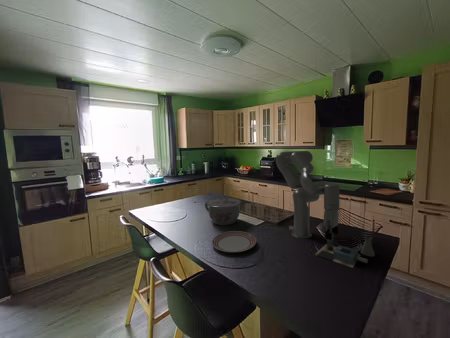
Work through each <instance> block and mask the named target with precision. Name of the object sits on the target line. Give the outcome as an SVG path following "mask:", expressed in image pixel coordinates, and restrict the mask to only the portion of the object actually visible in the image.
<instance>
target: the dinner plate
mask: <svg viewBox="0 0 450 338" xmlns="http://www.w3.org/2000/svg"><path fill="white" fill-rule="evenodd" d="M256 244H257V238H256V237H255V235H253V234H251V233H249V232H245V231H242V230H241V231H239V230H231V231H230V230H229V231H225V232H222V233H220V234H217V235H215V236H214V237H213V238H212V240H211V245H212V247H213V248H214V249H215V250H218V251H221V252H225V253H242V252H246V251H249V250H250V249H252V248H253V247H255V245H256Z"/></svg>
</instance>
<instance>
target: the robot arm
mask: <svg viewBox="0 0 450 338" xmlns="http://www.w3.org/2000/svg"><path fill="white" fill-rule="evenodd" d="M312 161H313V154H312V153H311V152H310V151H309V150H297V151H291V150H290V151H282V152H278V153H277V154H276V156H275V164H276V167H277V169H278V170H279V172H280V173H281V174H282V176H283V177H284V179H285V181H286V183H287V185H288V187H289V188H290V189H291V190H294V191H293V192H292V200H293V226H292V225H289V226H288V230H289V231H291V236H292V237H293V238H295V239H298V238H301V239H308V238H311V237H312V233H311V232H310V217H311V216H310V208H309V205H308V204H309V203H313V202H317V201H319V199H320V196H322V195H323V209H324V211H323V225H322V226H323V227H324V239H325V240H327V239H329V240H332V233H331V232H333V235H338V234H339V210H340V185H339V184H337V183H332V182H331V183H330V182H328V181H316V182H315V181H314V182H313V180H312V178H311V177H310V176H309V175H310V174H311V173H312V172H313V171H314V166H313V165H312V163H311V162H312ZM290 164H293V166H294V167H295V168H296V169H297V171H298V172H299V173H300V174H297V172H296V170H295V168H293V167H292V166H291V165H290Z"/></svg>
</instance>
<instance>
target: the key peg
mask: <svg viewBox="0 0 450 338" xmlns="http://www.w3.org/2000/svg"><path fill="white" fill-rule="evenodd" d="M331 233H332V240H329V239H326V240H327V242H326V244H327V250H329V251H333V246H334V234H333V232H332V231H331Z"/></svg>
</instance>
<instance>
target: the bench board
mask: <svg viewBox="0 0 450 338" xmlns="http://www.w3.org/2000/svg"><path fill="white" fill-rule="evenodd" d="M337 247H338V246H334V245H333V251H334V250H335V249H336V248H337ZM322 250H323V251H326V252H329V253H332V254H333V251H329V250H327V243H325V244H324V245H323V246H322V247H321V248H320V249H319V250H318V251H316V253H315V254H314V255H315V256H317V255H318V254H319V253H320V252H321V251H322ZM361 255H362V254H360V253H358V256H359V257H361ZM331 262H334V263H337V264H340V265H343V266H346V267H349V268H353V269H354V266H355V265H356V263H358V260H356V261H355V263H354V264H353V265H351V264H348V263H345V262H342V261H339V260H336V259H332V260H331Z"/></svg>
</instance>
